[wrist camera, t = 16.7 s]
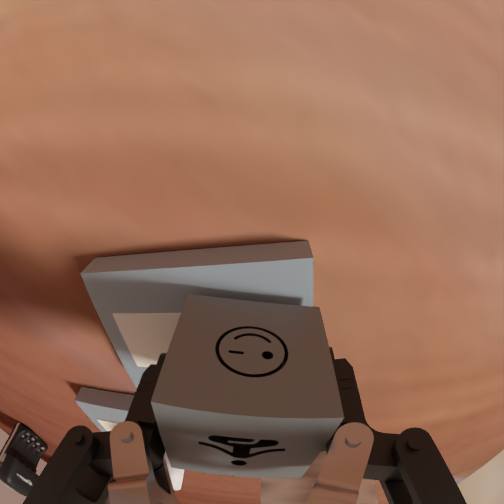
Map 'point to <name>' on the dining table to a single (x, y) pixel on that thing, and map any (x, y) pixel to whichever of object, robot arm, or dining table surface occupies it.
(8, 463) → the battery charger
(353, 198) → the dining table surface
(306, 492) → the cream block
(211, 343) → the dice cube
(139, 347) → the board
